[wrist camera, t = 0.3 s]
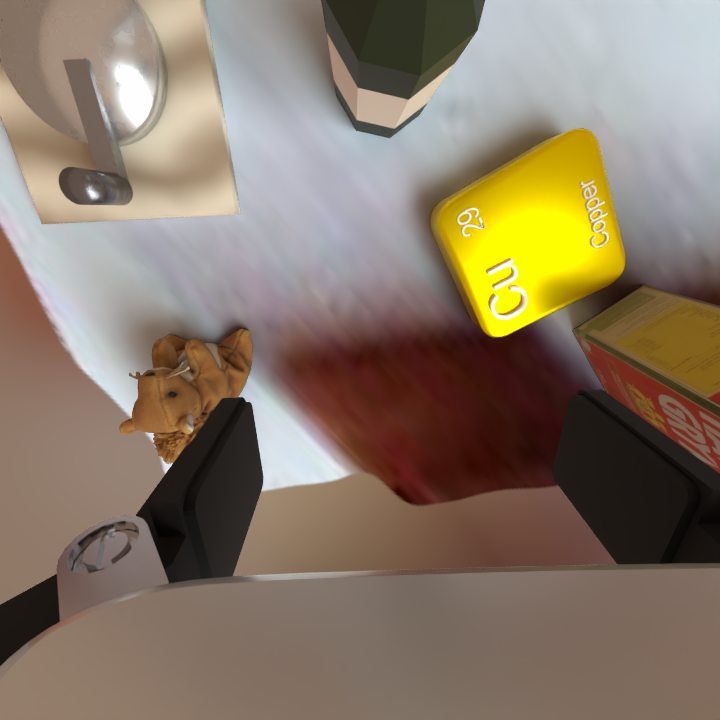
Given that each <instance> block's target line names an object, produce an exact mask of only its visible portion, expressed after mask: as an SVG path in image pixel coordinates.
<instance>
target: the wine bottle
mask: <svg viewBox="0 0 720 720" xmlns="http://www.w3.org/2000/svg"><path fill="white" fill-rule="evenodd" d="M321 1H322V8H323V14H324V20H325V27H326V33H327V39H328V46H329V52H330V58H331V64H332V71H333V77H334V83H335V90H336V96H337V98H338V99H339V101H340V103H341V105H342V106H343V108H344V110H345V112H346V113H347V115H348V117H349V118H350V120H351V122H352V124H353V125H354V127H355V129H356V131H361V132H365V133H370V134H374V135H379V136H383V137H387V138H390V137H392V136H393V135H394V134H396V133H397V132H398V131H399V130H401V129H402V128H403V127H405V126H406V125H407V124H408V123H410V122H411V121H412V120H414V119H415V118H416V117H417V116H419V115H420V113H421V112H422V110H423V109H424V107H425V106H426V104H427V103H428V101H429V100H430V99H431V97H432V96H433V94H434V93H435V91H436V90H437V88H438V87H439V85H440V84H441V83H442V81H443V80H444V78H445V77H446V75H447V74H448V72H449V71H450V69H451V68H452V67H453V65H454V64H455V62H456V61H457V59H458V58H459V56H460V55H461V53H462V52H463V51H464V49H465V48H466V46H467V45H468V43H469V42H470V40H471V39H472V37H473V36H474V35H475V33H476V32H477V30H478V26H479V22H480V18H481V14H482V10H483V6H484V2H485V0H321Z"/></svg>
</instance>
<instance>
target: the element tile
mask: <svg viewBox="0 0 720 720" xmlns="http://www.w3.org/2000/svg"><path fill="white" fill-rule="evenodd" d="M430 226H431V230H432V233H433V235H434V237H435V240H436V242H437V244H438V246H439V249H440V251H441V253H442V255H443V257H444V260H445V262H446V264H447V266H448V269H449V271H450V273H451V275H452V278H453V280H454V282H455V284H456V287H457V289H458V291H459V293H460V296H461V298H462V300H463V302H464V305H465V307H466V309H467V311H468V314H469V316H470V318H471V319H472V321H473V322H474V323H475V324H476V325H477V326H478V327H479V328H480V329H481V330H482V331H483V332H485V333H486V334H487V335H488V336H491V337H503V336H507V335H509V334H511V333H513V332H515V331H517V330H519V329H521V328H523V327H525V326H527V325H529V324H531V323H533V322H535V321H537V320H539V319H541V318H543V317H545V316H547V315H549V314H551V313H553V312H555V311H558V310H560V309H562V308H564V307H566V306H568V305H570V304H572V303H574V302H576V301H578V300H580V299H582V298H584V297H586V296H588V295H590V294H592V293H594V292H596V291H598V290H600V289H602V288H604V287H606V286H609V285H610V284H612V283H613V282H615V281H616V280H617V279H618V278H619V277H620V276H621V274H622V272H623V270H624V268H625V263H626V257H625V251H624V247H623V243H622V239H621V235H620V230H619V226H618V222H617V218H616V214H615V210H614V205H613V201H612V197H611V193H610V189H609V185H608V180H607V176H606V172H605V168H604V164H603V160H602V155H601V151H600V147H599V143H598V141H597V139H596V137H595V136H594V134H593V133H592V132H591V131H589V130H586V129H584V128H580V129H573V130H570V131H567V132H565V133H562V134H559V135H556V136H554V137H551V138H548V139H546V140H544V141H542V142H541V143H539V144H537V145H536V146H534V147H532V148H530V149H529V150H527V151H525V152H524V153H522V154H520V155H518V156H517V157H515V158H513V159H512V160H510V161H508V162H507V163H505V164H503V165H501V166H500V167H498V168H496V169H495V170H493V171H491V172H489V173H488V174H486V175H484V176H483V177H481V178H479V179H477V180H476V181H474V182H472V183H471V184H469V185H467V186H466V187H464V188H462V189H460V190H459V191H457V192H455V193H454V194H452V195H450V196H448V197H447V198H445V199H443V200H442V201H440V202H439V203H438V204H437V205H436V207H435V208H434V209H433V211H432V213H431V216H430Z"/></svg>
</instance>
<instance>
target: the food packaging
mask: <svg viewBox="0 0 720 720" xmlns="http://www.w3.org/2000/svg"><path fill="white" fill-rule="evenodd" d="M573 333H574V335H575V337H576V338H577V340H578V342H579V344H580V346H581V348H582V349H583V351H584V353H585V355H586V357H587V358H588V360H589V362H590V364H591V366H592V368H593V369H594V371H595V373H596V375H597V376H598V378H599V380H600V381H601V383H602V384H603V386H604V388H605V390H606V392H607V393H608V394H609V395H611V396H612V397H613V398H615V399H616V400H618V401H619V402H620V403H622V404H623V405H625V406H626V407H627V408H629V409H630V410H632V411H633V412H634V413H636V414H637V415H639V416H640V417H641V418H643V419H644V420H646V421H647V422H648V423H650V424H651V425H653V426H654V427H655V428H657V429H658V430H660V431H661V432H662V433H664V434H665V435H667V436H668V437H669V438H671V439H672V440H674V441H675V442H676V443H678V444H679V445H681V446H682V447H683V448H685V449H686V450H688V451H689V452H690V453H692V454H693V455H695V456H696V457H697V458H699V459H700V460H702V461H703V462H704V463H706V464H707V465H709V466H710V467H711V468H713V469H714V470H716V471H717V472H718V473H720V306H718V305H714V304H711V303H707V302H703V301H700V300H696V299H692V298H689V297H685V296H681V295H678V294H674V293H670V292H667V291H664V290H661V289H657V288H654V287H651V286H648V285H647V284H645V285H642V286H641V287H640V288H638V289H636V290H635V291H633V292H632V293H630V294H629V295H627V296H626V297H624V298H623V299H621V300H620V301H618V302H617V303H615V304H614V305H612V306H611V307H609V308H607V309H606V310H604V311H603V312H601V313H599V314H598V315H596V316H595V317H593V318H592V319H590V320H588V321H587V322H585V323H584V324H582V325H581V326H579V327H577V328H575V329H574V330H573Z"/></svg>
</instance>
